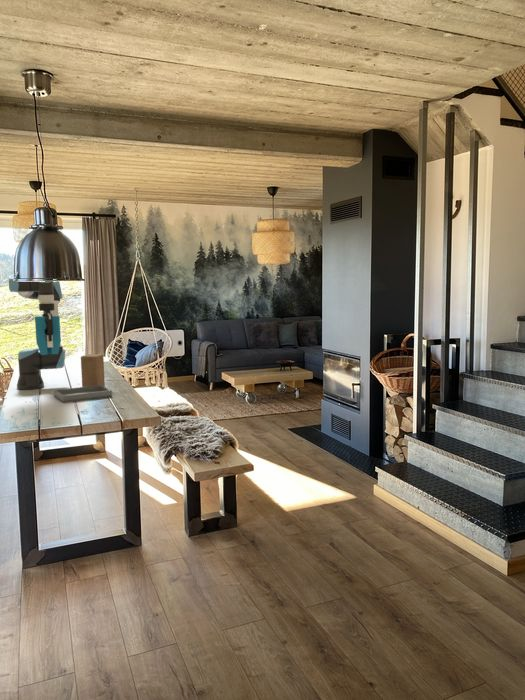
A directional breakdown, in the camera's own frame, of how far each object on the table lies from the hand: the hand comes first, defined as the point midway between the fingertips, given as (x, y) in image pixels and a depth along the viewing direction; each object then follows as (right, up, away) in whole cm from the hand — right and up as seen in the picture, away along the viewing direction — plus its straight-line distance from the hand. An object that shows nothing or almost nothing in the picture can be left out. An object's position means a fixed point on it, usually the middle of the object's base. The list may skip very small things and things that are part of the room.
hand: (49, 346), depth 297 cm
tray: (+14, -27, +11) cm, 33 cm away
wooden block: (+13, -25, +34) cm, 44 cm away
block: (0, -4, 0) cm, 4 cm away
